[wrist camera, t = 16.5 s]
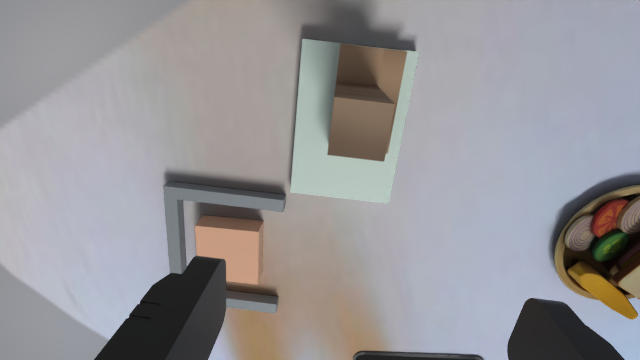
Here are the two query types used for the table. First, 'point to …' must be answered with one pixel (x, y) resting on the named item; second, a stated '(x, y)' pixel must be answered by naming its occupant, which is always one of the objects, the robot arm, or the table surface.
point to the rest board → (314, 130)
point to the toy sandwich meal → (604, 250)
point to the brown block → (365, 101)
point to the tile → (233, 245)
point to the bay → (222, 196)
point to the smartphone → (410, 356)
